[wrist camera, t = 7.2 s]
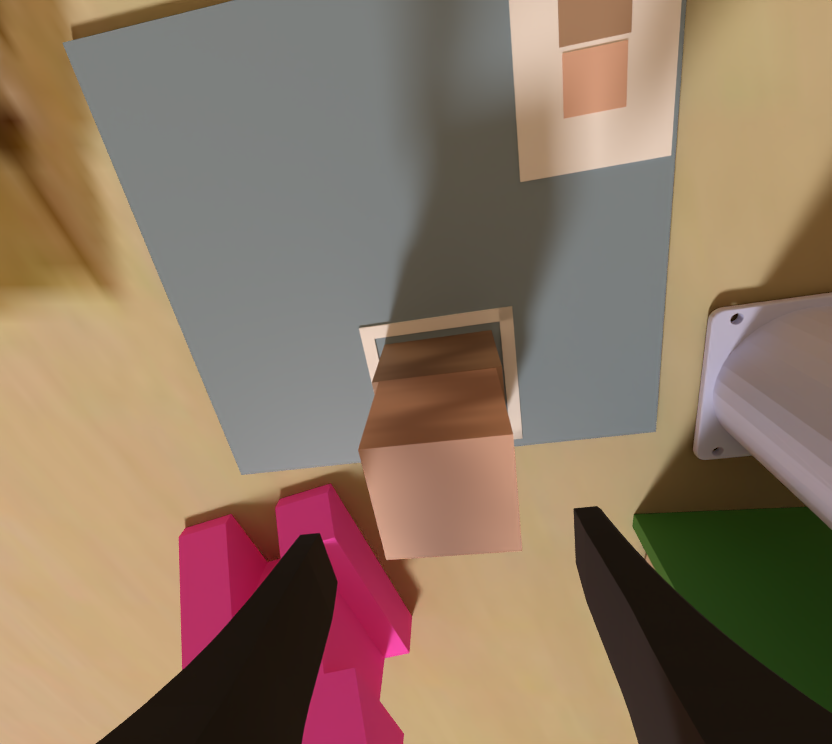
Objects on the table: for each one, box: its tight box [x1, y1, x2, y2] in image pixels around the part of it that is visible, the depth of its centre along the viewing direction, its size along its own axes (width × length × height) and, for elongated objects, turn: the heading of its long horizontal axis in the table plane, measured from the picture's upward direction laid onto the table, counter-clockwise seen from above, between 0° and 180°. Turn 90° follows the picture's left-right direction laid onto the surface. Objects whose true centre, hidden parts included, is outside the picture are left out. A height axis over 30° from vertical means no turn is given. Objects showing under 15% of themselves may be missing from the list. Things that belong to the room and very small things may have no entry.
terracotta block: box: [358, 368, 522, 560], centre depth 15 cm, size 4×4×4 cm
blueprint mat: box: [63, 0, 686, 475], centre depth 19 cm, size 22×20×1 cm
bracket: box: [179, 483, 412, 744], centre depth 24 cm, size 12×10×10 cm
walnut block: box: [372, 330, 505, 400], centre depth 19 cm, size 5×5×4 cm
